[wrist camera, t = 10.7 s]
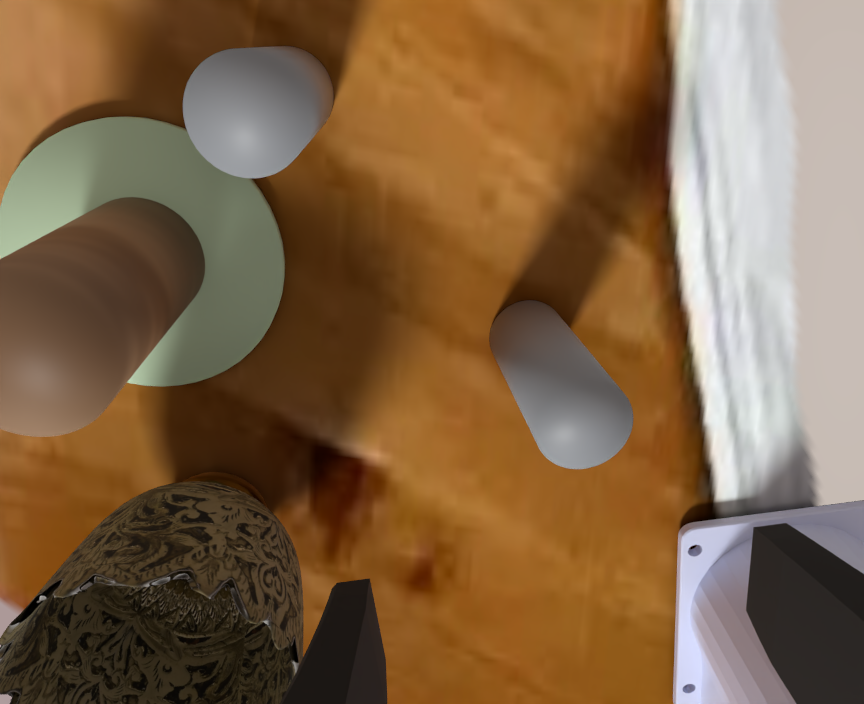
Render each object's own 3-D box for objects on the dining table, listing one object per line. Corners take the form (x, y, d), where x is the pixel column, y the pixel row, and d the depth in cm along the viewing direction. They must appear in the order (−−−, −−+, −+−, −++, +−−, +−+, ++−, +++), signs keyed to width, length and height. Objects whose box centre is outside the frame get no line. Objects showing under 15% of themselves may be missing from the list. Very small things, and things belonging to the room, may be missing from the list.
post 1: (341, 133, 20) (319, 169, 14) (256, 145, 20) (201, 186, 14) (324, 39, 19) (293, 39, 13) (234, 52, 19) (167, 58, 13)
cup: (215, 622, 26) (147, 845, 19) (62, 494, 24) (-85, 694, 16) (371, 521, 25) (362, 719, 18) (226, 372, 22) (145, 532, 15)
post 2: (571, 356, 23) (642, 449, 17) (501, 380, 23) (549, 481, 17) (552, 289, 22) (621, 365, 16) (479, 315, 22) (522, 400, 16)
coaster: (307, 363, 22) (306, 368, 22) (58, 395, 22) (52, 401, 22) (252, 98, 19) (250, 99, 19) (-40, 136, 19) (-48, 137, 19)
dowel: (218, 309, 21) (140, 424, 15) (99, 325, 21) (-31, 447, 15) (187, 189, 20) (86, 258, 13) (59, 205, 20) (-105, 282, 13)
